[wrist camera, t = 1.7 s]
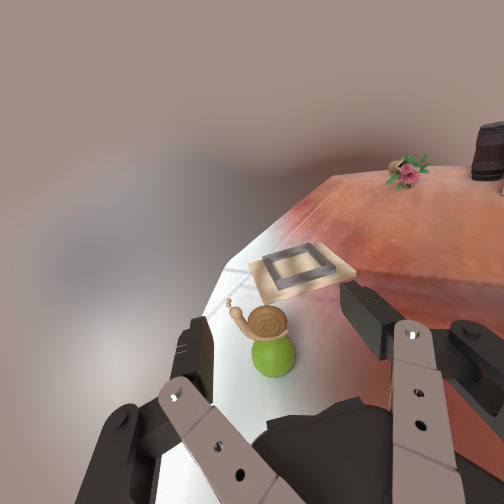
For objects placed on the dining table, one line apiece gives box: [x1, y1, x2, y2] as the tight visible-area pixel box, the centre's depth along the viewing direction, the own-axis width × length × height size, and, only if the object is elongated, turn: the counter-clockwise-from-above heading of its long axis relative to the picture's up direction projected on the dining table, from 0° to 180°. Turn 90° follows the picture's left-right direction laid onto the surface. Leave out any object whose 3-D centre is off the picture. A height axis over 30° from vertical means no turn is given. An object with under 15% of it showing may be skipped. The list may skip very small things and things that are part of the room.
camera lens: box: [471, 121, 504, 181], centre depth 66 cm, size 8×8×15 cm
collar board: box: [248, 242, 356, 306], centre depth 47 cm, size 18×14×3 cm
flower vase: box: [385, 154, 430, 191], centre depth 80 cm, size 12×12×35 cm
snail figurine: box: [226, 298, 295, 378], centre depth 27 cm, size 5×6×12 cm
